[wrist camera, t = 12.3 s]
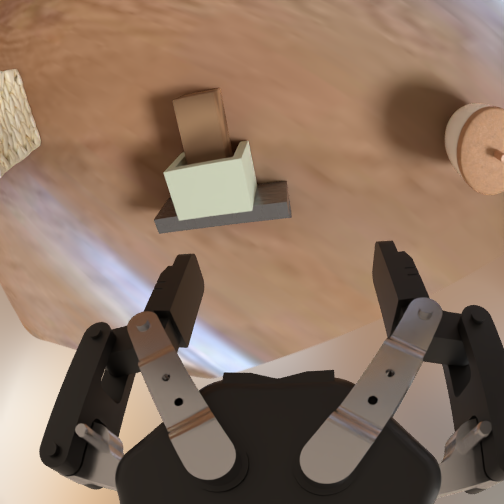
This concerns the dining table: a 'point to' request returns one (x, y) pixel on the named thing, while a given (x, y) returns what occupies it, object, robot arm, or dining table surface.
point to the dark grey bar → (264, 208)
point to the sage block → (212, 185)
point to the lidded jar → (477, 146)
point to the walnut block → (203, 126)
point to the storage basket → (15, 122)
